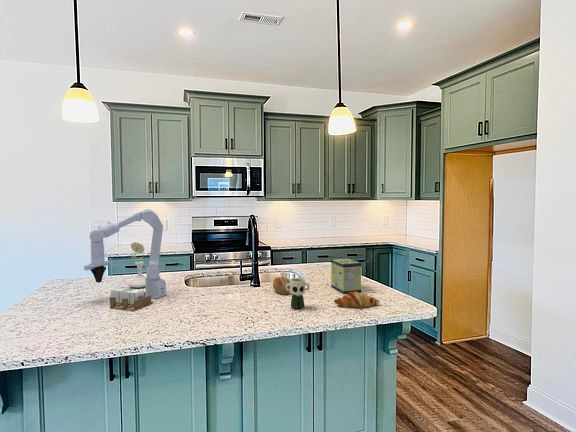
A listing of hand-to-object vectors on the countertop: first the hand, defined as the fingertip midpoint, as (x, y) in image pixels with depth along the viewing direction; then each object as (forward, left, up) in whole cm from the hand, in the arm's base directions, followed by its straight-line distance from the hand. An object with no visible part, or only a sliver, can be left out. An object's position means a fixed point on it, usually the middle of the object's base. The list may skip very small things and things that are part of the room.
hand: (98, 282), depth 182 cm
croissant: (-120, -32, -10) cm, 124 cm away
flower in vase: (+1, -29, -10) cm, 31 cm away
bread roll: (-79, -43, -10) cm, 90 cm away
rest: (-20, +1, -9) cm, 22 cm away
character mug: (-95, -20, -10) cm, 97 cm away
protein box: (-110, -58, -10) cm, 125 cm away
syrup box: (-9, 0, -5) cm, 11 cm away
